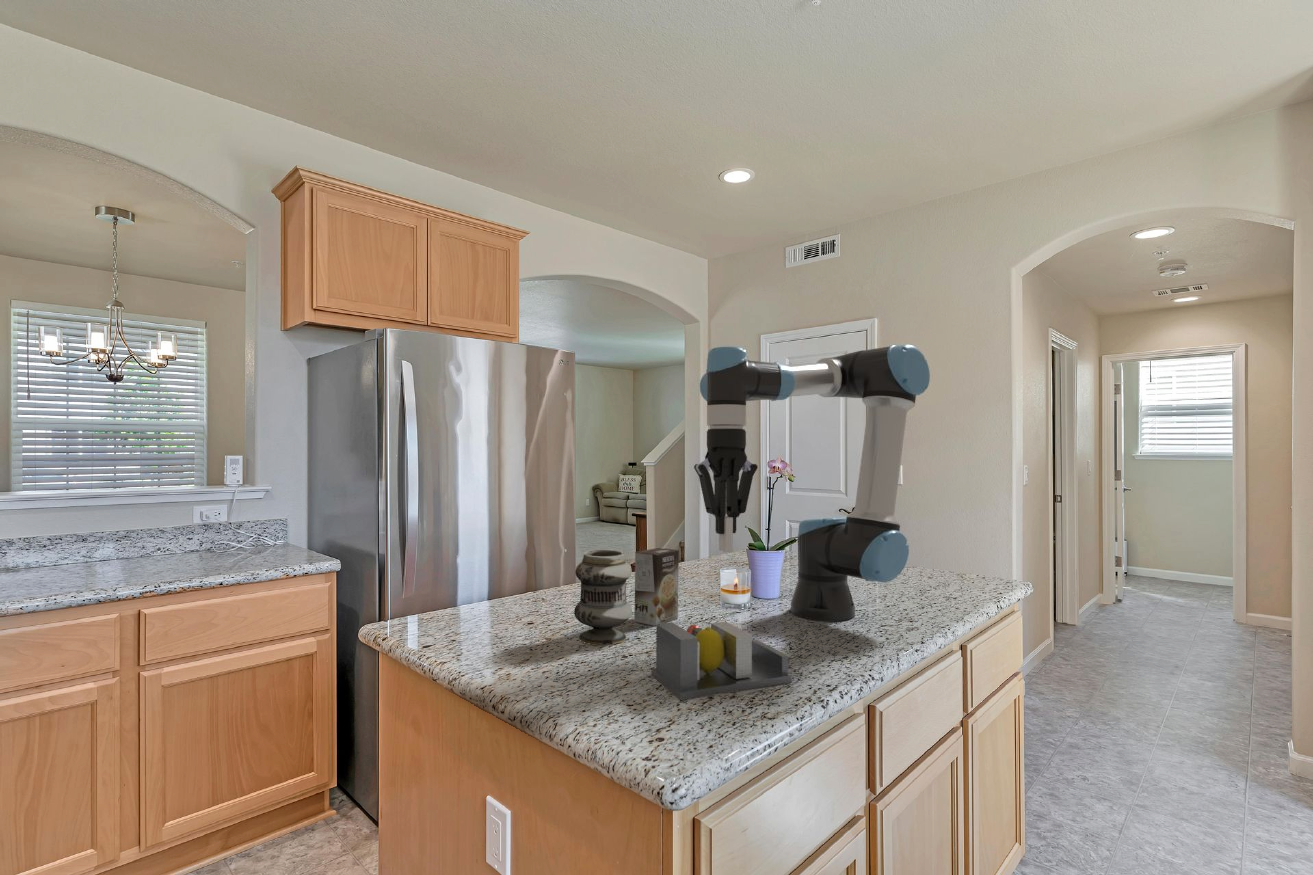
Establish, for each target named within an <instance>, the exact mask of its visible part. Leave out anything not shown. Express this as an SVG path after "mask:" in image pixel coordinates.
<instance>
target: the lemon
mask: <svg viewBox="0 0 1313 875" xmlns="http://www.w3.org/2000/svg"><path fill="white" fill-rule="evenodd" d="M695 637H697V638H698V642H699V668H700V669H702V670H704V671H705V673H706V674H710V673H711V672H712V671H713V670H715V669H717V668H718V667H719V666H720V665H721V663H722V661H723V658H724V644H723V640H722V638H721V636H720V634H719V633H718V632H716V631H715V630H713V629H711V626H710V627H709V626H706V627H705V628H704V629H703V630H701V631H700V632H698V633H697V634H696V636H695Z"/></svg>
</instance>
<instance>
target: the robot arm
mask: <svg viewBox="0 0 1313 875" xmlns="http://www.w3.org/2000/svg"><path fill="white" fill-rule="evenodd" d="M706 359H707V360H706V362H707V363H706V369H705V370H706V371H705V373H704V374H703V376H702V377H701V379H700V381H699V392H700V395H701V397H702V398H703V399H704V400H705V401H706V426H708V427H709V428H708V429H707V430H706V448H707V450H706V454H705V456H704V459H703V460H702V461H701V462H700V463H697V464H696V463H695V464H694V466H693V469H694V470H695V472H696V474H697V475H698V479H699V485H700V488H701V489H700V490H701V495H702V499H703V503H704V506H705V507H704V508H705V511H706V513H707V514H711V515H713V516H714V517H715V533H716V534H718V550H719V551H721V552H723V553H724V552H725V553H731V552H733V550H734V545H733V543H734V540H733V539H734V537H733V536H734V534H736V533H737V518H739V517H740V515H741V514H745V513H746V511H747V505H748V502H749V498H750V493H751V486H752V483H753V478H754V475H755V473H756V471H757V470H758V465H757V463H752V462H751V461H749V460H748V456H747V454H746V447H747V437H746V436H747V431H746V430H745V429H744V427H745V426H746V425H747V402H752V401H753V402H754V401H763V400H764V401H772V402H775V401H784V400H787V399H788V398H790V397H800V396H801V397H802V396H803V397H804V396H812V395H813V396H815V395H818V396H821V397H822V398H851V399H852V398H854V399H862V400H861V401H862V403H863V404H864V406H865V407H866V408H867V412H866V413H867V414H866V420H865V428H864V437H863V443H862V452H861V459H860V467H859V473H858V481H857V487H856V488H857V489H856V496H855V497H856V498H855V505H854V510H852V511H851V512H850V513H848V514H847V515H846V517H824V518H812V519H811V518H810V519H803V520H802V521H801V522H799V524H798V533H797V564H798V565H797V566H798V568H797V572H798V574H797V582H796V585H795V588H794V592H793V596H792V598H791V601H790V612H791V613H792V614H794V615H795V616H797V617H800V618H805V619H808V620H809V619H810V620H814V621H816V620H817V621H826V622H827V621H829V622H830V621H831V622H833V621H836V622H837V621H838V622H839V621H844V620H850V619H852V618H854V617H855V616H856V605H855V603H854V600H853V597H852V593H851V590H850V587H849V583H848V582H849V581H848V576H849V577H853V578H857V579H863V580H865V582H866V581H867V582H877V583H889V582H891V581H894V580H895V579H896V578H897V577H898V576H899V575H900V574H902V572H903V570H904V569H905V567H906V565H907V562H908V559H909V555H910V553H909V552H910V548H909V543H907V542H908V539H907V537H906V536H905V535H904V534H903V533H902V532H900V530H901V522H899V521H898V519H897V518H896V516H895V511H896V504H897V494H898V485H899V479H900V471H901V464H902V454H903V447H904V439H905V438H904V437H905V430H906V422H907V414H908V412H909V411H911V410H912V409H914V407H916V400H917V396H920V395H921V394H923V393H925V392H926V390H927V389H928V387H929V385H930V381H931V375H930V366H929V364H928V361H927V359H926V358H925V355H924V354H923V353H922V351H920V349H919V348H918V347H916V346H915V345H912V344H893V345H891V346H890V345H889V346H885V347H884V346H883V347H876V348H870V349H865V350H857V351H854V352H849V353H846V354H842V355H841V354H840V355H837V356H833V357H824V358H821V359H819V360H817V361H816V362H810V363H809V362H808V363H794V364H793V363H791V364H785V363H784V364H783V363H779V362H777V361H776V362H775V361H774V362H771V361H770V362H768V361H758V360H757V361H756V360H748V357H747V351H746V349H745V348H742V347H739V346H729V345H728V346H718V347H714V348H711V349H709V351H708V353H707V358H706ZM710 470H711V471H712V474H713V476H712V477H711V475H710ZM741 470H742V472H741ZM740 472H741V475H740ZM712 479H713V482H714V487H713V483H712ZM738 482H739V483H738Z"/></svg>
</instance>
